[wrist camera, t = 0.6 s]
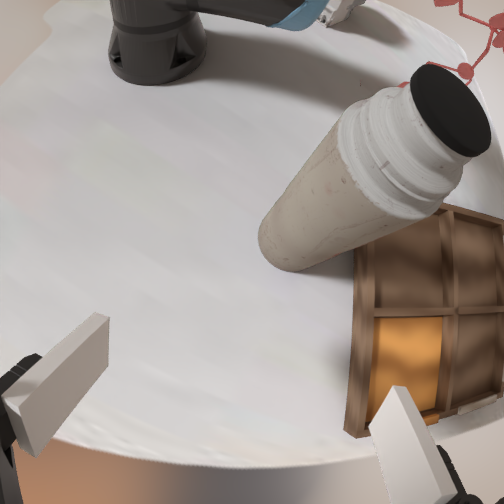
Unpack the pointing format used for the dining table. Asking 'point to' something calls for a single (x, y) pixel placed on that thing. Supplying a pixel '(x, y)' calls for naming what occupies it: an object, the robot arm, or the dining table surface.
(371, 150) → the thermos bottle
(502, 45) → the figurine
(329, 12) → the circuit breaker
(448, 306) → the wooden compartment tray
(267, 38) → the dining table surface
